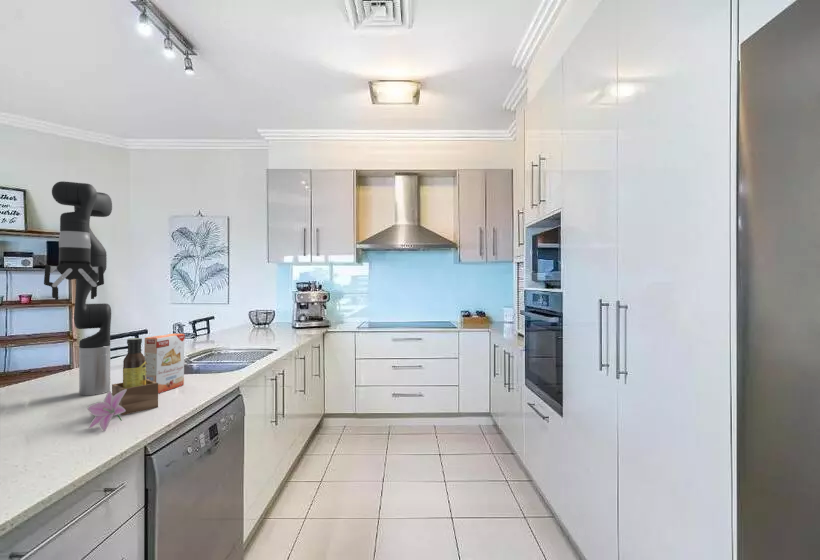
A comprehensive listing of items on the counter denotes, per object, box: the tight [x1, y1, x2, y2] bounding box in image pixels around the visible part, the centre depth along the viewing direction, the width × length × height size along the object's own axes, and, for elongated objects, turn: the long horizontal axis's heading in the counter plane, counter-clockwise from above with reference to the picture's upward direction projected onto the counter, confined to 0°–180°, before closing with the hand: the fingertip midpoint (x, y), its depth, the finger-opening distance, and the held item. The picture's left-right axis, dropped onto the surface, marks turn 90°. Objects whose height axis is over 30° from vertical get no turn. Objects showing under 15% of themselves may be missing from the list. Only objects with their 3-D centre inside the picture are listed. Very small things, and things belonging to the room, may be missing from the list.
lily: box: [86, 389, 127, 432], centre depth 118 cm, size 12×12×10 cm
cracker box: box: [143, 333, 186, 394], centre depth 156 cm, size 14×6×21 cm, turn 168°
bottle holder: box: [111, 379, 159, 416], centre depth 133 cm, size 10×10×8 cm
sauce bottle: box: [122, 337, 146, 388], centre depth 132 cm, size 6×6×20 cm
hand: (74, 299), depth 125 cm, fingers open, 8 cm apart
